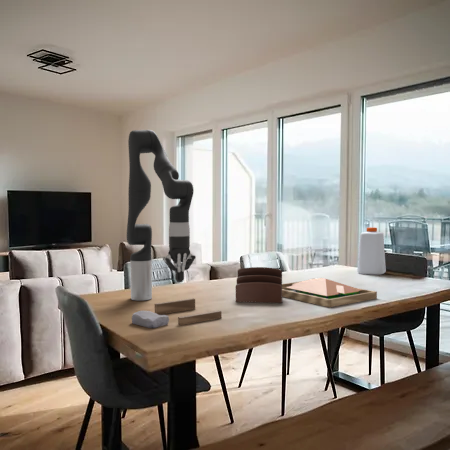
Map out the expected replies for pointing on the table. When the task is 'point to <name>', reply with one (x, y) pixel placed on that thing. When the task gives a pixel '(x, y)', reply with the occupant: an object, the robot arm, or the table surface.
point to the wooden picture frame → (325, 302)
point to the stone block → (149, 319)
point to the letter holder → (259, 285)
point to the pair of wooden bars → (182, 306)
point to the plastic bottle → (371, 253)
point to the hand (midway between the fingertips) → (179, 281)
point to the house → (324, 288)
